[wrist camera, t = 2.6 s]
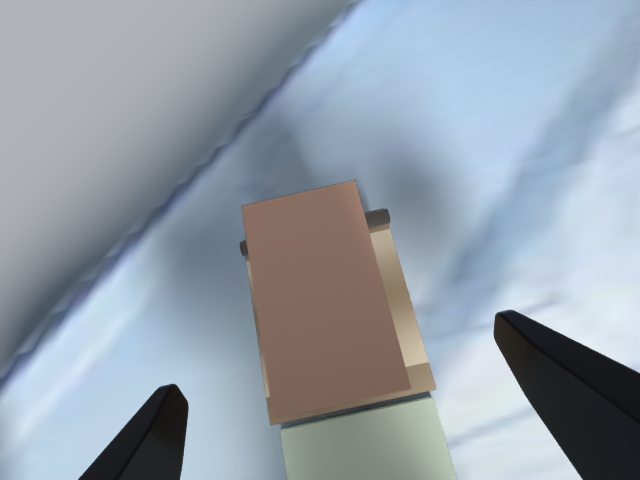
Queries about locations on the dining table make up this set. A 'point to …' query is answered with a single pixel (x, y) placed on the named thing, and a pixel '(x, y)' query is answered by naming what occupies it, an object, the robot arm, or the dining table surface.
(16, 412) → the dining table surface
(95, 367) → the dining table surface
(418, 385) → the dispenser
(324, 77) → the dining table surface
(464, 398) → the dining table surface
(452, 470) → the pad
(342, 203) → the pinkish tan rectangular block
